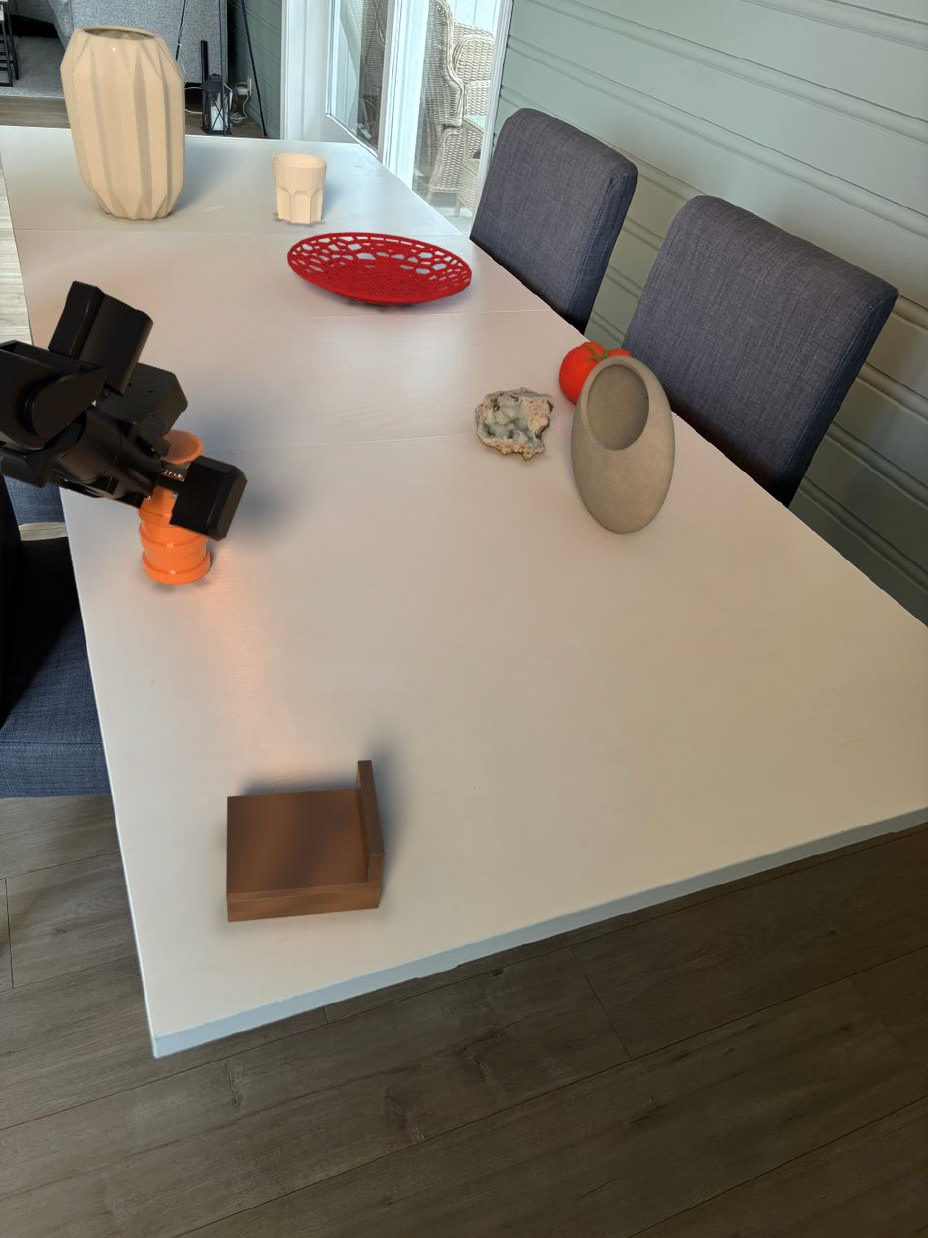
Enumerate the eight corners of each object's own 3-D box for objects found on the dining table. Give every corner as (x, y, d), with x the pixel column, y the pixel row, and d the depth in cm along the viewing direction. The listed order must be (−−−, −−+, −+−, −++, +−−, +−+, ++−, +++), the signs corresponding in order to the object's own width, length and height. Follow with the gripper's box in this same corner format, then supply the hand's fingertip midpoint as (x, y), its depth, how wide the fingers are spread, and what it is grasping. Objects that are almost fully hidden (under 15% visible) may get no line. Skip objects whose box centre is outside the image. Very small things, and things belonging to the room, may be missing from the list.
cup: (327, 226, 171) (329, 170, 165) (273, 223, 169) (273, 165, 162) (322, 210, 178) (324, 155, 172) (270, 206, 176) (270, 150, 170)
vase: (171, 234, 157) (156, 50, 140) (59, 216, 157) (31, 30, 140) (207, 204, 172) (198, 34, 155) (105, 187, 172) (85, 15, 155)
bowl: (251, 274, 148) (250, 242, 145) (395, 253, 165) (397, 224, 161) (358, 344, 132) (360, 310, 129) (505, 312, 149) (509, 282, 146)
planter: (541, 478, 110) (572, 327, 98) (593, 474, 112) (629, 326, 100) (609, 570, 97) (654, 409, 85) (667, 563, 99) (718, 406, 87)
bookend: (228, 923, 60) (224, 867, 56) (228, 824, 66) (225, 768, 62) (378, 908, 62) (385, 854, 58) (366, 814, 68) (371, 759, 64)
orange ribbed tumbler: (140, 585, 85) (125, 463, 77) (145, 546, 90) (132, 427, 82) (209, 584, 86) (202, 464, 78) (211, 546, 91) (204, 429, 83)
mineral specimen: (487, 481, 117) (549, 448, 120) (509, 470, 110) (576, 435, 112) (452, 412, 116) (516, 381, 119) (473, 396, 108) (540, 363, 111)
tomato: (540, 400, 126) (550, 348, 121) (580, 377, 133) (591, 328, 129) (607, 428, 122) (620, 376, 117) (644, 403, 129) (658, 353, 124)
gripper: (231, 380, 69) (300, 449, 84) (25, 318, 72) (127, 394, 88) (176, 518, 68) (257, 561, 83) (-29, 447, 71) (84, 502, 87)
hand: (181, 500), depth 85 cm, fingers closed on orange ribbed tumbler, 6 cm apart
